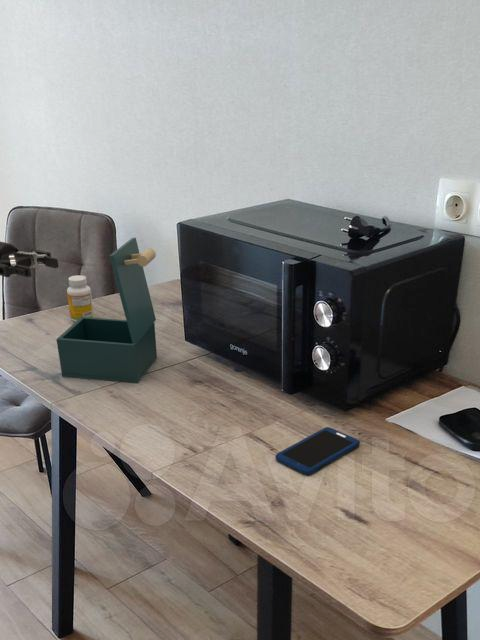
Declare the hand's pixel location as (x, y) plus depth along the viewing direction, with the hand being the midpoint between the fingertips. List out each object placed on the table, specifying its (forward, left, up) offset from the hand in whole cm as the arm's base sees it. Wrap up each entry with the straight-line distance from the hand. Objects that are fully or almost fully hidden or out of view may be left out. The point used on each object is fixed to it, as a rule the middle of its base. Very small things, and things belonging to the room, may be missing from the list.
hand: (43, 267), depth 164 cm
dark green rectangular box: (+26, -29, -10) cm, 40 cm away
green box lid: (+32, -29, +6) cm, 43 cm away
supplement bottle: (+10, -4, -10) cm, 15 cm away
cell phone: (+71, -55, -10) cm, 90 cm away
